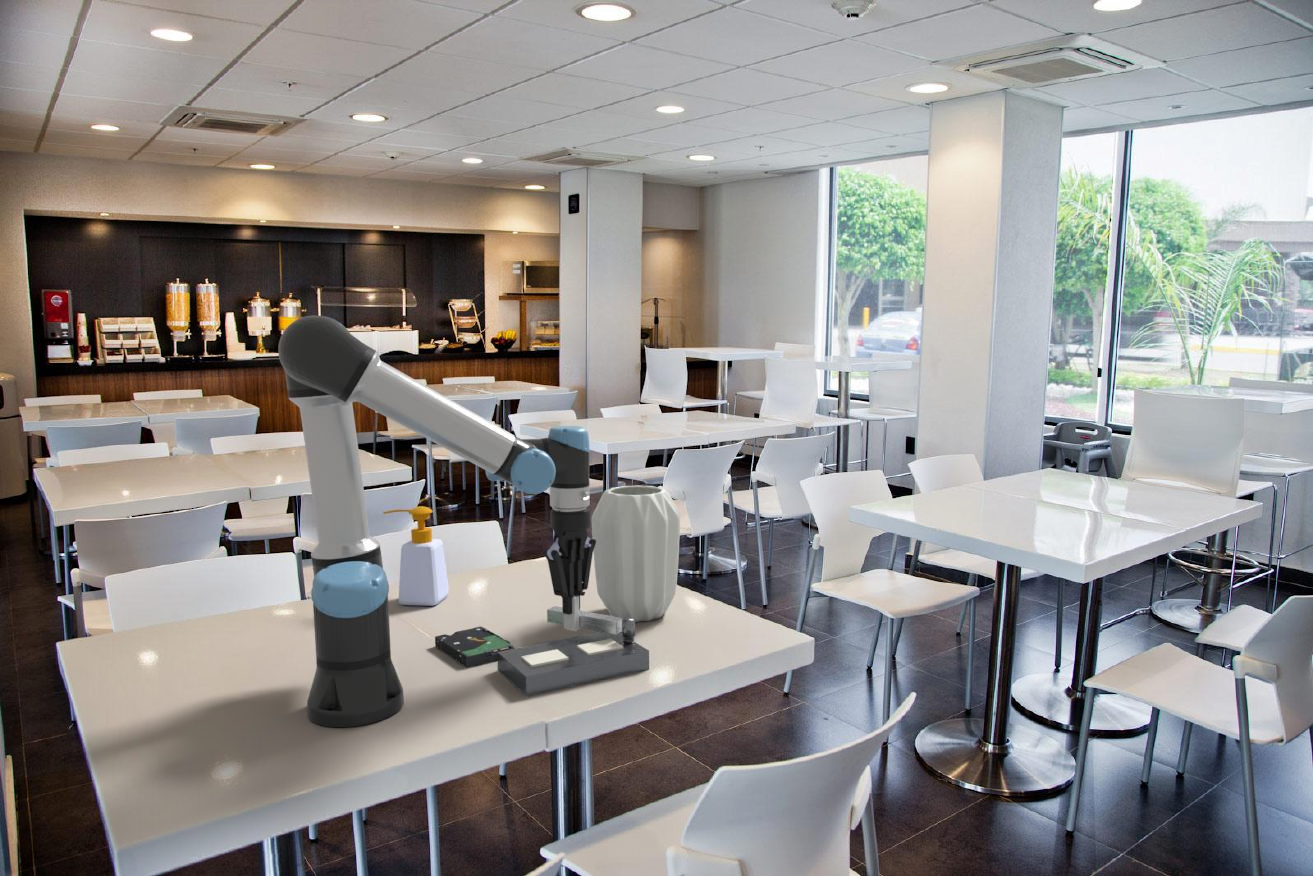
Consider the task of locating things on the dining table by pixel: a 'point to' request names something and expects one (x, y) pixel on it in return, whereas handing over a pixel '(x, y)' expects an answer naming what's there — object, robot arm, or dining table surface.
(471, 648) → the disk drive
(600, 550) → the vase
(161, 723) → the dining table surface
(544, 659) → the label
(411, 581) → the soap bottle
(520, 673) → the plate
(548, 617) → the gray rectangular bar
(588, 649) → the label
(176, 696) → the dining table surface
